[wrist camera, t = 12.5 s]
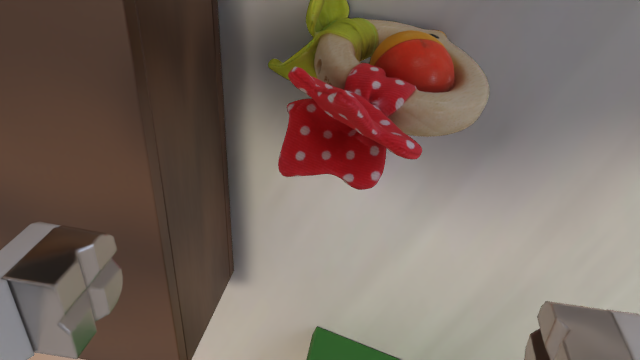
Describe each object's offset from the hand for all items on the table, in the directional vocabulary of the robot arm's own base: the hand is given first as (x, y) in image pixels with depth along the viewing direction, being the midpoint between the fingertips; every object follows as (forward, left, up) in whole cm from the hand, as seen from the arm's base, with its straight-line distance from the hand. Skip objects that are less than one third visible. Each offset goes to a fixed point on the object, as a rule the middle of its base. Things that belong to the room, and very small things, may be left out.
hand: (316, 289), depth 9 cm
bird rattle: (0, 0, -17) cm, 17 cm away
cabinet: (+7, -15, -17) cm, 24 cm away
